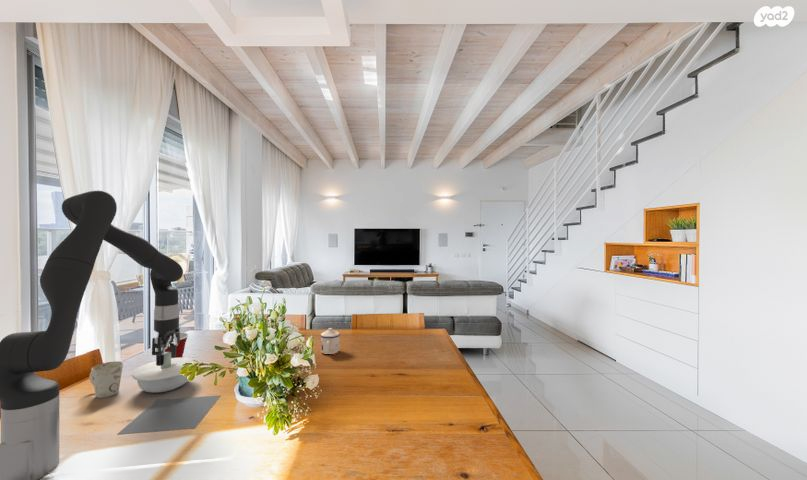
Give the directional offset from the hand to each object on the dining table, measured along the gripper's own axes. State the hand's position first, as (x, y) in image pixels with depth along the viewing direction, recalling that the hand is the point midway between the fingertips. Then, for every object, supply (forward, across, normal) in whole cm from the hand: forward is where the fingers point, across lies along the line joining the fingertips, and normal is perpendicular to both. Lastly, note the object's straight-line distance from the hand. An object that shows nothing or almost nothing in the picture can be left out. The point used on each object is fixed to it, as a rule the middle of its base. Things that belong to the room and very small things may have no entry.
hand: (166, 360), depth 122 cm
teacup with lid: (+10, +29, -57) cm, 65 cm away
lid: (+3, 0, 0) cm, 3 cm away
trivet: (+10, -20, -12) cm, 25 cm away
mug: (+10, -1, +20) cm, 23 cm away
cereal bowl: (+10, 0, 0) cm, 10 cm away
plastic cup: (+10, +27, +10) cm, 31 cm away
